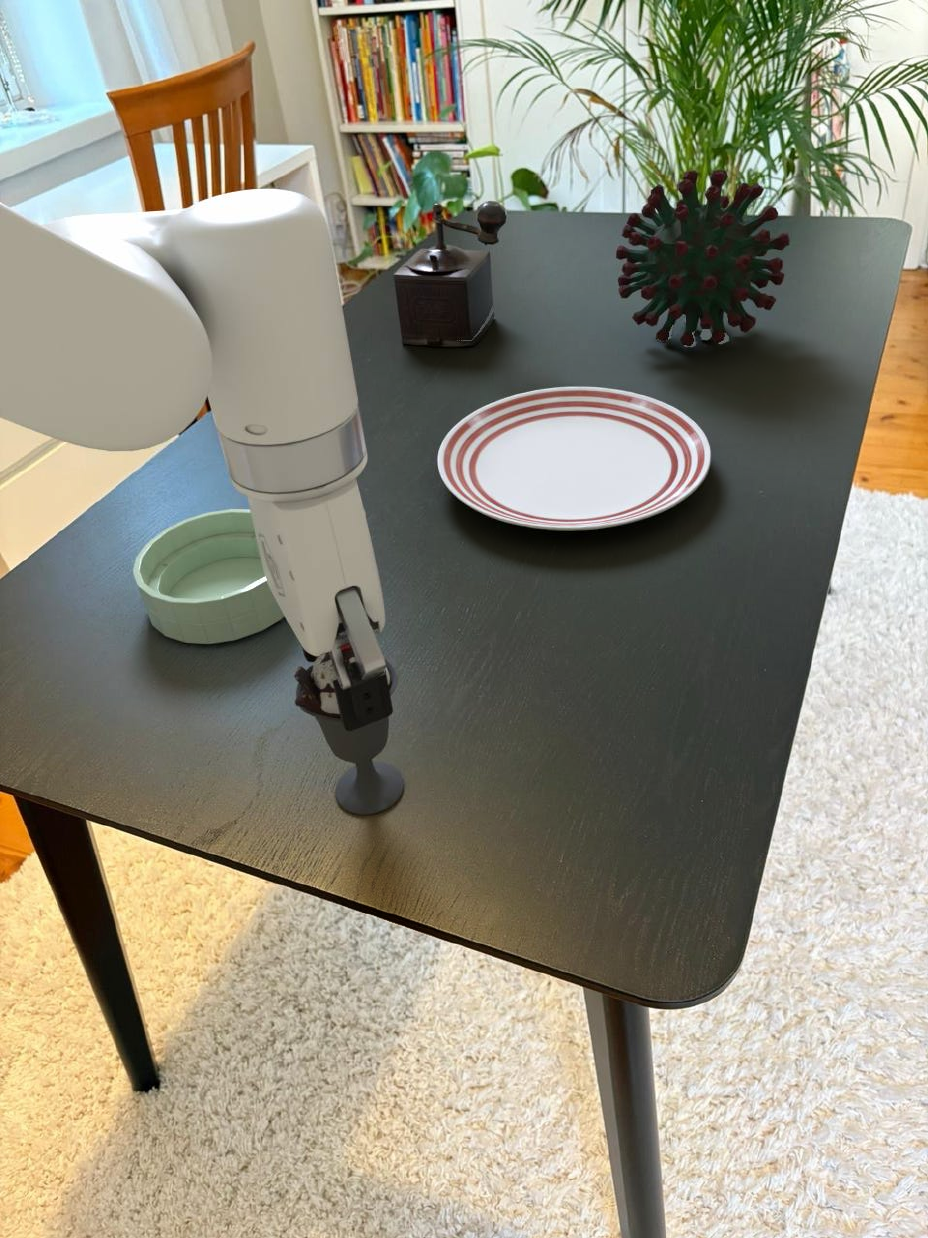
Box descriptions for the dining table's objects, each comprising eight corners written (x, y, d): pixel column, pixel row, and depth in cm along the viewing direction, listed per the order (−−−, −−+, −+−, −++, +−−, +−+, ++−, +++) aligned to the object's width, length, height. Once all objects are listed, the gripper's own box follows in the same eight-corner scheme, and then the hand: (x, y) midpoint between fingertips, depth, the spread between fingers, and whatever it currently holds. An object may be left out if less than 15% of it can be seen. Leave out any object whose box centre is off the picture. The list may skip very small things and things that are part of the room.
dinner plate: (768, 485, 96) (772, 455, 94) (537, 588, 86) (536, 557, 84) (598, 390, 115) (598, 363, 113) (394, 465, 105) (390, 438, 103)
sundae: (431, 766, 71) (406, 604, 61) (388, 836, 66) (353, 672, 57) (353, 744, 73) (317, 584, 64) (306, 809, 69) (259, 648, 59)
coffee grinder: (397, 346, 130) (378, 206, 118) (425, 314, 138) (410, 179, 126) (509, 353, 125) (501, 207, 114) (532, 319, 133) (526, 179, 122)
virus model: (675, 298, 134) (683, 141, 122) (808, 330, 123) (833, 160, 110) (583, 350, 124) (581, 184, 111) (720, 390, 112) (735, 210, 100)
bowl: (168, 669, 82) (151, 623, 79) (136, 582, 92) (120, 539, 89) (326, 613, 86) (316, 567, 83) (279, 536, 96) (268, 493, 93)
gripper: (188, 400, 57) (255, 632, 69) (274, 541, 45) (339, 797, 56) (308, 367, 60) (354, 597, 71) (422, 493, 47) (456, 749, 58)
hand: (347, 684), depth 63 cm, fingers closed on sundae, 6 cm apart
